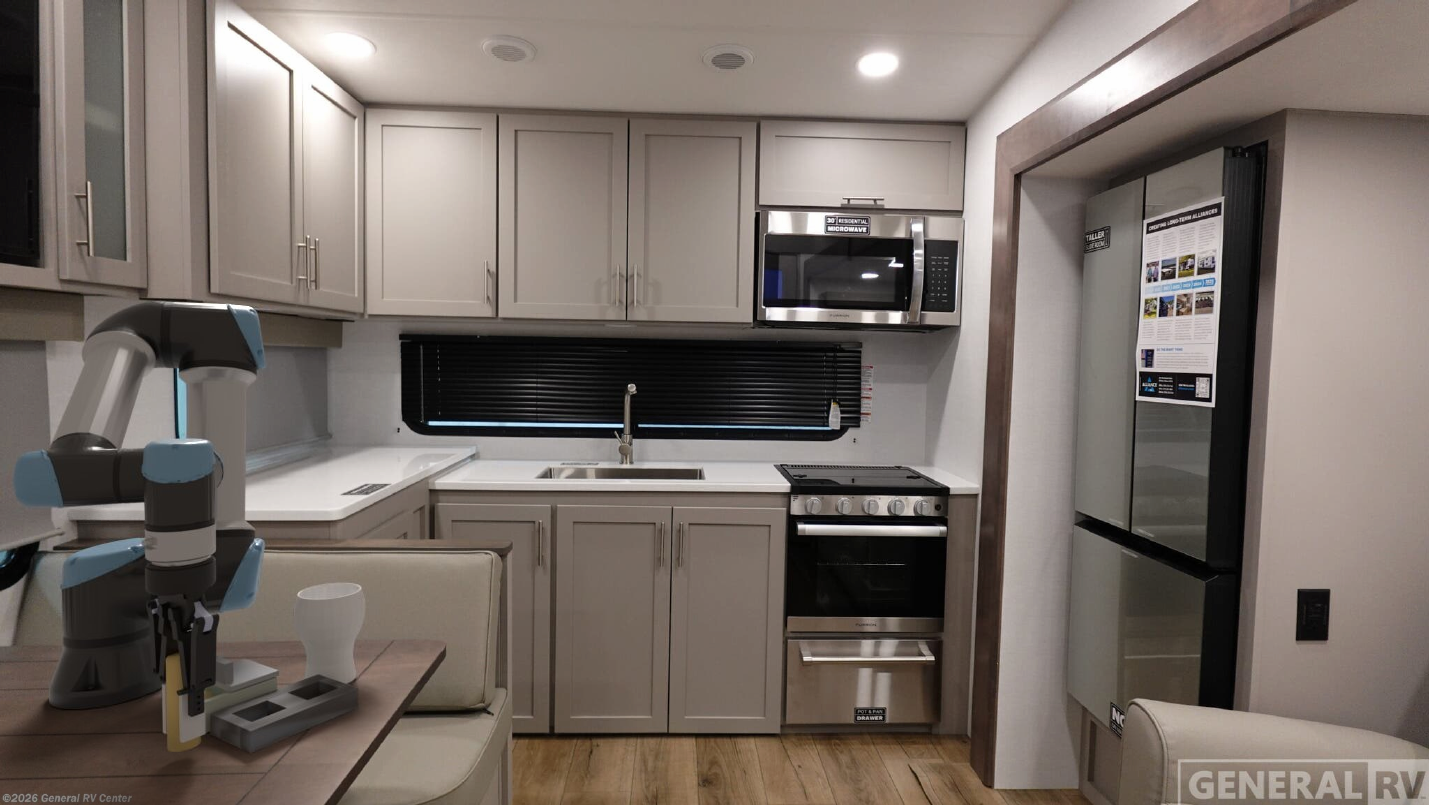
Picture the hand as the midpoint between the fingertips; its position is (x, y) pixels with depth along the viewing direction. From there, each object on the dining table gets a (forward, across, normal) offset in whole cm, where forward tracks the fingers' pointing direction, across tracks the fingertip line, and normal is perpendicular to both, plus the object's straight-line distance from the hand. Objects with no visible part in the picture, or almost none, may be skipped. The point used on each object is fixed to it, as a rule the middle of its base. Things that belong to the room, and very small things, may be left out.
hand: (184, 732), depth 99 cm
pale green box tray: (+4, -10, +10) cm, 14 cm away
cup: (+4, -7, +25) cm, 26 cm away
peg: (+2, 0, 0) cm, 2 cm away
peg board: (+4, +1, +13) cm, 14 cm away
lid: (-1, -10, +12) cm, 15 cm away
